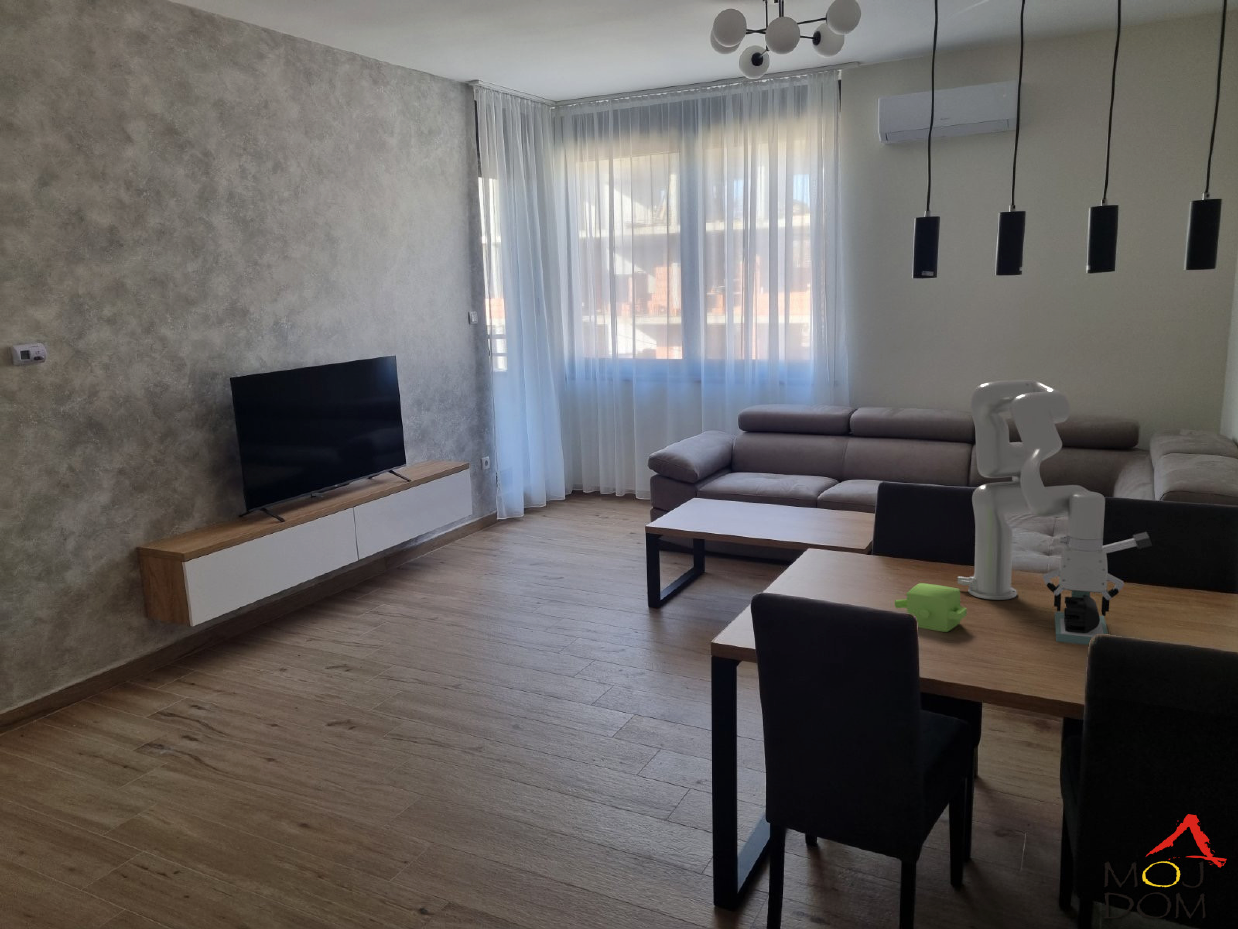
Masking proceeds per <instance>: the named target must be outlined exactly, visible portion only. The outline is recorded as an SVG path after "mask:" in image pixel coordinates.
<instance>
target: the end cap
mask: <svg viewBox="0 0 1238 929" xmlns="http://www.w3.org/2000/svg"><path fill="white" fill-rule="evenodd" d="M1064 604H1065V607H1064V609H1063V612H1064V624H1065V631H1067V632H1075V633H1088V632H1090V631H1092V630H1094V629H1095V628H1096V627H1097V626H1098V625H1099V622H1100V617H1099V616H1100V612H1099V609H1098V605H1097V602H1096V600H1095V599H1093V597H1091V595H1090V596H1087V595H1083V598H1077V597H1071V596H1064Z"/></svg>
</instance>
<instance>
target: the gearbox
mask: <svg viewBox="0 0 1238 929" xmlns="http://www.w3.org/2000/svg"><path fill="white" fill-rule="evenodd" d="M894 607H895V608H896V609H906V610H907V611H906V613H910V614H913V615H914V616H916V618H917V622H918V626H919V627H918V628H921V629H926V630H929V631H930V630H931V631H938V632H944V633H948V632H949V631H951V630H953V629H955V628H956V627H957V626H959V624H960V623H961V620H963V619H964V618H965V617H967V615H968V609H967V607H964V606H961V589H960V588H956V587H951V586H945V585H939V584H930V583H925V582H923V583H922V582H919V583H918V584H916V585H914V586H913V587H912V588H911V589H909V591H907V592H906V599H903V598H902V599H895V600H894Z"/></svg>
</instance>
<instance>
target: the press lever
mask: <svg viewBox="0 0 1238 929" xmlns="http://www.w3.org/2000/svg"><path fill="white" fill-rule="evenodd" d="M1152 546H1153V544H1152V541H1151V538H1150V536H1149V534H1148V532H1147V531H1144V532H1139V533H1135V534H1133V535H1132V538H1129V539H1125V540H1121V541H1118V542H1117V541H1116V542H1113V543H1109V544H1105V545H1104V544H1103V545H1102V549H1104V550H1105V551H1106V554H1110V553H1114V552H1117V551H1122V550H1125V549H1130V548H1134V547H1137V549H1144V548H1147V547H1152Z"/></svg>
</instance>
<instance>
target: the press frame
mask: <svg viewBox="0 0 1238 929" xmlns="http://www.w3.org/2000/svg"><path fill="white" fill-rule="evenodd" d="M1070 592H1071V596H1070V597H1077V598H1083V595H1087V596H1090V597H1091V592H1081V591H1071V590H1070ZM1099 617H1100V622H1099V625H1098V626H1097V627H1096V628H1095V629H1094V630H1092V631H1090V632H1088V633H1075V632H1067V631H1065V624H1064V611H1063V612H1062V611H1054V626H1055V641H1056V642H1057V643H1065V644H1066V643H1067V644H1077V645H1078V644H1079V645H1087V646H1089V645H1088V644H1089V642H1090V640H1091V638H1092V637H1095V635H1097V634H1108V635H1109V632H1108V628H1107V624H1106V623H1107V622H1106V619H1105V616H1103V615H1099Z"/></svg>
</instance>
